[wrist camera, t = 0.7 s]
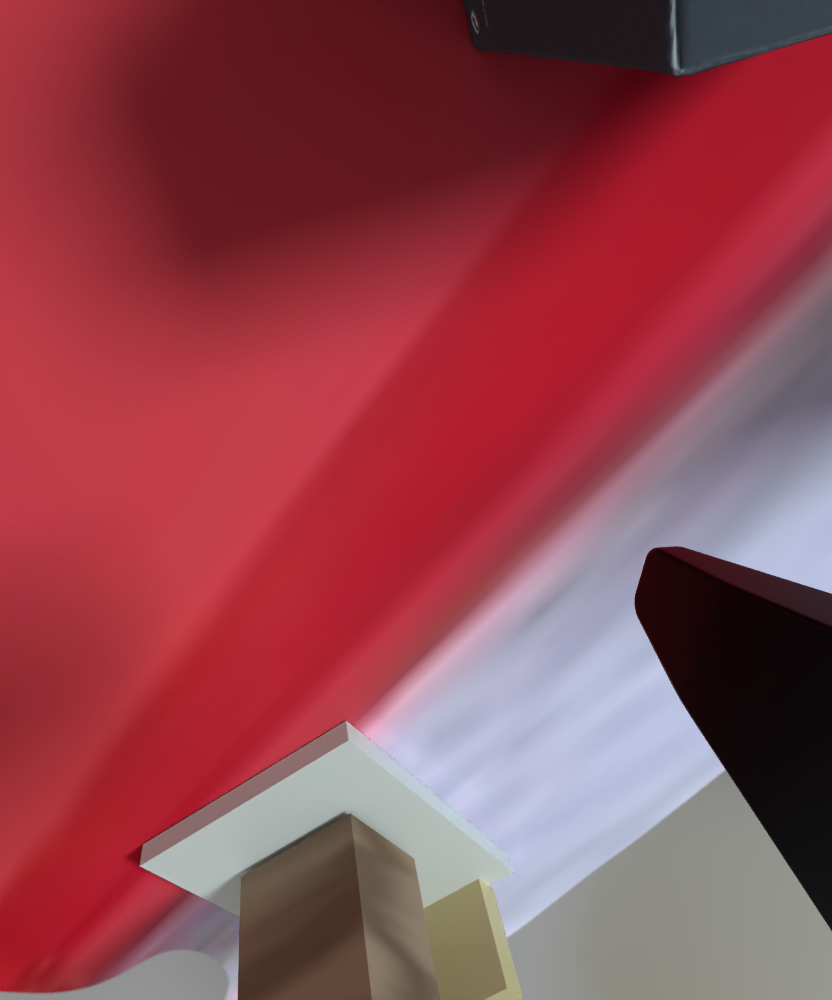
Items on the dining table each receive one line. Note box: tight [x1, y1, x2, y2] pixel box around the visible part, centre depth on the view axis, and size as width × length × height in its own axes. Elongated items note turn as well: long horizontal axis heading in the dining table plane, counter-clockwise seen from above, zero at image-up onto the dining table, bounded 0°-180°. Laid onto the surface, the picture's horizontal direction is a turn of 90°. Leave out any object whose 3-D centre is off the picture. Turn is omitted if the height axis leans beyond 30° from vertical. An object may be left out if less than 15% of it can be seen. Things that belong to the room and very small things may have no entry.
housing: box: [140, 721, 522, 1000], centre depth 32 cm, size 14×11×6 cm
